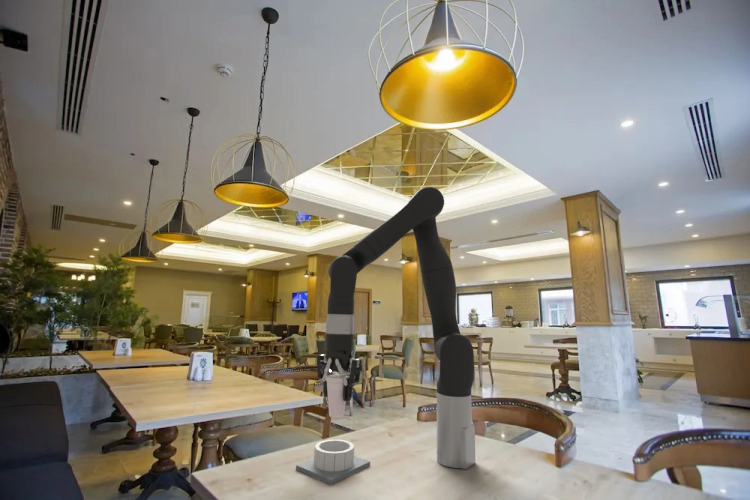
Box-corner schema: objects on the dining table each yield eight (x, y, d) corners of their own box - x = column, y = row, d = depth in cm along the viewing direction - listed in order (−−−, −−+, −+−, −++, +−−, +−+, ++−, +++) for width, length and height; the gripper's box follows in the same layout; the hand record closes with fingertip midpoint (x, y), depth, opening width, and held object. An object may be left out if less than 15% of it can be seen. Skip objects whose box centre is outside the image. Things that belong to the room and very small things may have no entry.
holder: (370, 465, 94) (370, 444, 95) (331, 484, 83) (332, 460, 84) (335, 453, 101) (336, 434, 102) (295, 469, 90) (297, 447, 91)
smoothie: (347, 419, 91) (349, 360, 93) (321, 418, 91) (324, 360, 93) (350, 412, 97) (352, 357, 99) (325, 412, 97) (328, 357, 100)
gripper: (369, 333, 96) (367, 400, 93) (330, 330, 105) (327, 392, 102) (350, 333, 90) (347, 406, 87) (310, 330, 99) (306, 396, 96)
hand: (336, 398), depth 95 cm, fingers closed on smoothie, 6 cm apart
